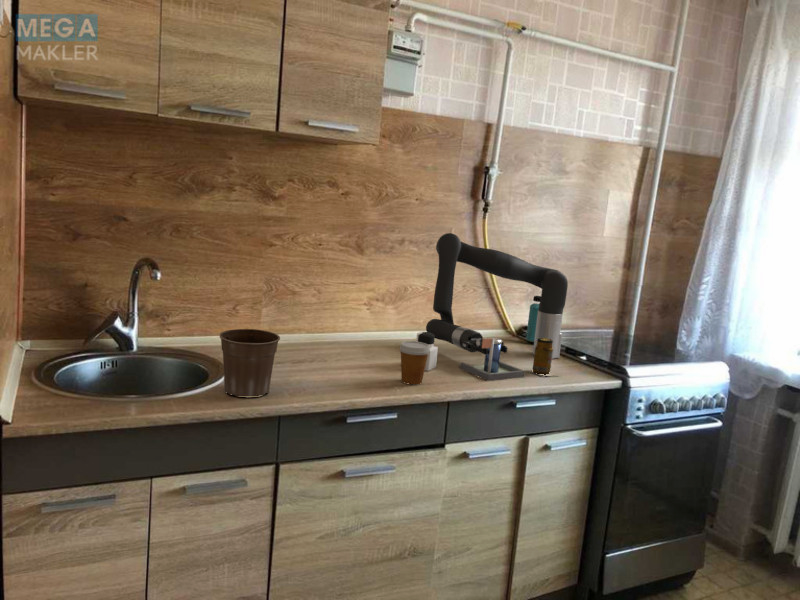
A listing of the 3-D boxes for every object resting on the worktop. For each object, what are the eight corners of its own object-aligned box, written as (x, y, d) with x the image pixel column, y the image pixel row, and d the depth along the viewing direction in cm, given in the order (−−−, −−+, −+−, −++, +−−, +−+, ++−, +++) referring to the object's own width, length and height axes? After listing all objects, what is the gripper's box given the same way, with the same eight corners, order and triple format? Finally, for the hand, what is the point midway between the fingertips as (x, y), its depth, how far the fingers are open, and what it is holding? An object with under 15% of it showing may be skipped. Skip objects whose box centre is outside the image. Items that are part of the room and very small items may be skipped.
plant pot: (286, 398, 185) (289, 340, 182) (228, 404, 176) (231, 344, 173) (263, 381, 198) (266, 327, 195) (209, 386, 189) (211, 330, 187)
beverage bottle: (542, 345, 277) (548, 298, 273) (526, 344, 277) (532, 296, 273) (539, 342, 283) (545, 295, 280) (523, 340, 283) (529, 294, 280)
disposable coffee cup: (417, 388, 204) (420, 350, 202) (390, 381, 208) (393, 344, 206) (432, 382, 212) (436, 345, 210) (406, 375, 217) (409, 339, 214)
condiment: (543, 369, 239) (547, 336, 237) (558, 376, 232) (562, 342, 230) (526, 370, 236) (530, 337, 234) (541, 377, 229) (545, 343, 227)
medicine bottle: (436, 367, 230) (439, 332, 228) (428, 371, 224) (431, 336, 222) (417, 363, 233) (420, 329, 231) (408, 367, 226) (411, 332, 224)
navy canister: (495, 368, 233) (498, 337, 231) (500, 373, 228) (504, 341, 226) (481, 368, 232) (484, 337, 230) (486, 372, 227) (489, 341, 225)
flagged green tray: (451, 369, 229) (455, 328, 227) (495, 364, 240) (499, 326, 237) (479, 381, 217) (483, 339, 214) (524, 376, 227) (529, 336, 225)
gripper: (452, 329, 236) (481, 341, 222) (483, 328, 243) (514, 338, 230) (450, 350, 237) (479, 363, 224) (481, 348, 245) (511, 360, 231)
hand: (497, 350), depth 227 cm, fingers open, 8 cm apart
